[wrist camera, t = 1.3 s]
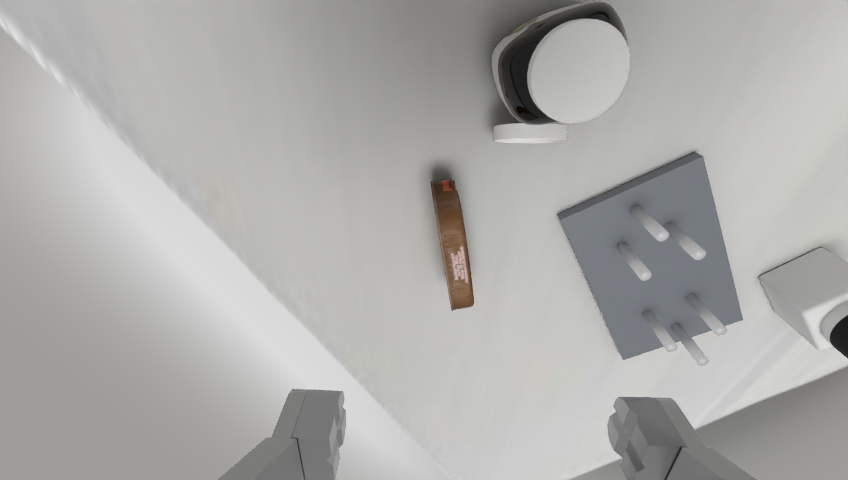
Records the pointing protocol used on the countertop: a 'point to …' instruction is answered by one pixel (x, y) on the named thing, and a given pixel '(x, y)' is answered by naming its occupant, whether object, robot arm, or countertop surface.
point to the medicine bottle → (812, 298)
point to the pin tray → (656, 259)
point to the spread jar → (560, 71)
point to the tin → (453, 243)
